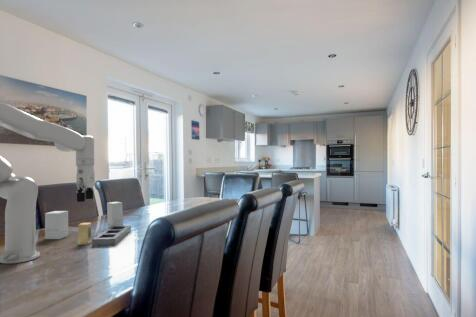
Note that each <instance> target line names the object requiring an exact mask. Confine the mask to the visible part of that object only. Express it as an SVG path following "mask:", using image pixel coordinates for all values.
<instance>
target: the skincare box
mask: <svg viewBox="0 0 476 317" xmlns="http://www.w3.org/2000/svg"><path fill="white" fill-rule="evenodd" d="M106 211H107V212H106V214H107V220H106V221H107V229H108V228H109V227H111V226H124V215H123V214H124V213H123V211H124V210H123V202H122V201H121V202H120V201H112V202H111V201H109V202H107V203H106Z"/></svg>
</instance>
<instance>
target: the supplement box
mask: <svg viewBox="0 0 476 317" xmlns="http://www.w3.org/2000/svg"><path fill="white" fill-rule="evenodd" d="M44 237H45V238H44V240H61V239H63V238H66V237H69V210H54V211H48V212H45V213H44Z"/></svg>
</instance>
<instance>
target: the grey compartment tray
mask: <svg viewBox="0 0 476 317" xmlns="http://www.w3.org/2000/svg"><path fill="white" fill-rule="evenodd" d="M131 231H132V227H131V225H123V226H111V227H109V228H108V227H107V228H106V229H105V230H104V231H102V232H101V233H99V234H98V235H96V236H95V237H93V238H91V247H106V246H107V247H108V246H110V247H111V246H117V245H118V244H119V243H120V242H121V241H122V240H123V239H124V238H125V237H126V236H127V235H128V234H130V232H131Z"/></svg>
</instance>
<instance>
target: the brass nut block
mask: <svg viewBox="0 0 476 317" xmlns="http://www.w3.org/2000/svg"><path fill="white" fill-rule="evenodd" d="M77 226H78V234H77V235H78V239H77V240H78V246H81V245H89V244H91V243H92V222H81V223H79V224H78V225H77Z"/></svg>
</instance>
